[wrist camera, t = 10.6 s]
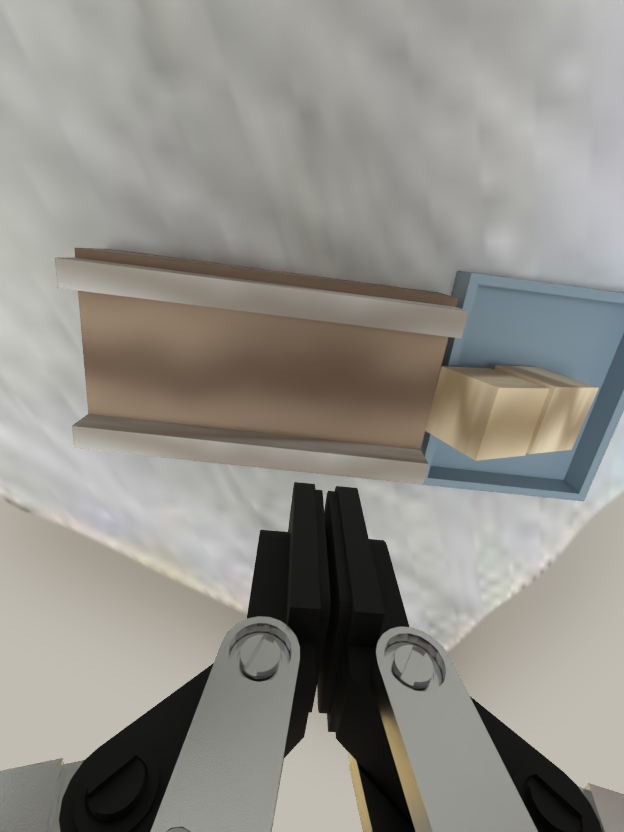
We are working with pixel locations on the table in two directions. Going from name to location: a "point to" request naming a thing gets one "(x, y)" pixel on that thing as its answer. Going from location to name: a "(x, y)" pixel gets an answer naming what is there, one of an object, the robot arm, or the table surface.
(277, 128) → the table surface
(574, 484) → the slate tray
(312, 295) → the brown wooden channel
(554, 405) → the pale yellow cube
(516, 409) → the tan wooden cube
